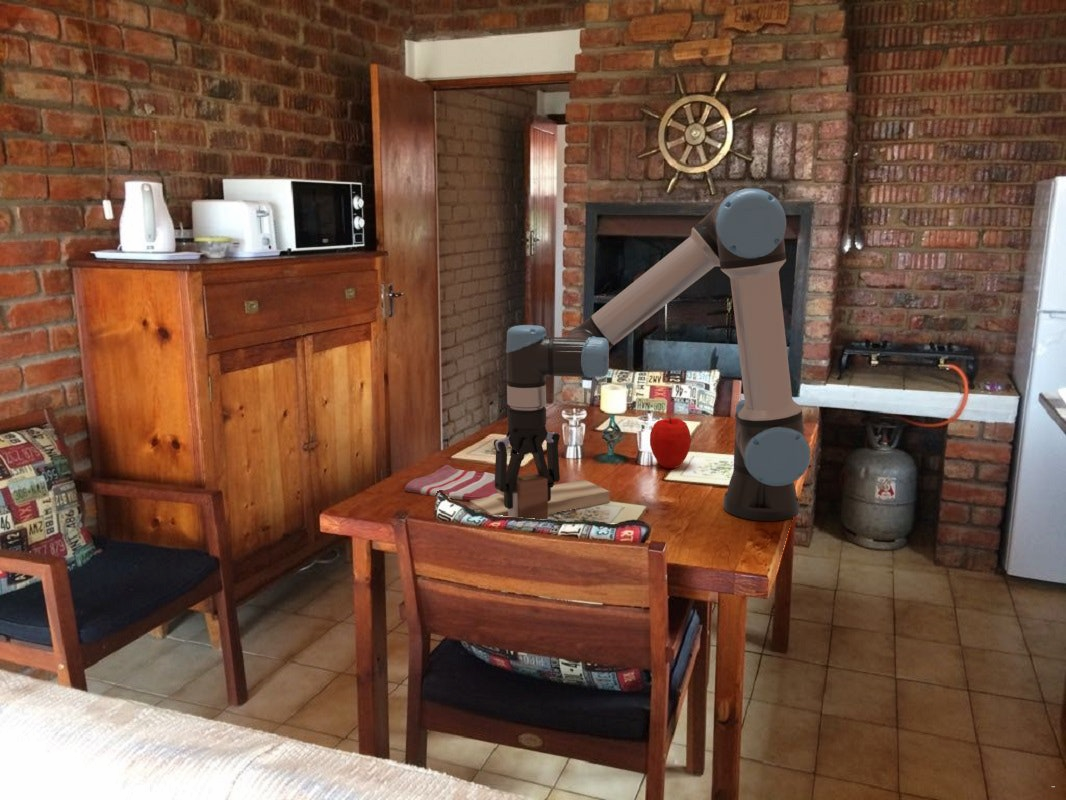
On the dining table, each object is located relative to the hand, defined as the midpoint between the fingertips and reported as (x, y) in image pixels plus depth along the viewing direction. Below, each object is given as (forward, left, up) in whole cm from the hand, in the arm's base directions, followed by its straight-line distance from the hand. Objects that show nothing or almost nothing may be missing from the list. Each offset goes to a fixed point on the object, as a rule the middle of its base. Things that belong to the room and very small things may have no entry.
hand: (527, 520), depth 178 cm
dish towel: (+28, 0, -2) cm, 28 cm away
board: (+8, -8, -1) cm, 11 cm away
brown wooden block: (+4, 0, 0) cm, 4 cm away
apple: (+18, -50, -1) cm, 53 cm away
